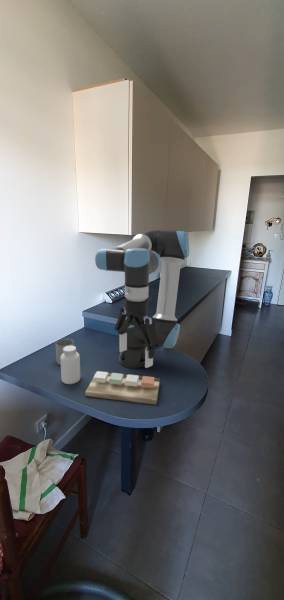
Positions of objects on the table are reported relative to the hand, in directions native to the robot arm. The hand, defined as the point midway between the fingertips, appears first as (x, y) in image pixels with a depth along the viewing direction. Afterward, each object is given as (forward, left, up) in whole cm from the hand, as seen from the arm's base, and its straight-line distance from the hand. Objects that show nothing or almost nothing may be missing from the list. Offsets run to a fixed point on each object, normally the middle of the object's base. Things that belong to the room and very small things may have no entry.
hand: (135, 358), depth 93 cm
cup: (-31, -40, -22) cm, 55 cm away
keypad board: (-13, -7, -22) cm, 27 cm away
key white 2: (-13, -3, -18) cm, 23 cm away
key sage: (-13, -10, -18) cm, 25 cm away
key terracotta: (-13, +3, -18) cm, 23 cm away
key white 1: (-13, -16, -18) cm, 28 cm away
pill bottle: (-16, -31, -22) cm, 41 cm away
